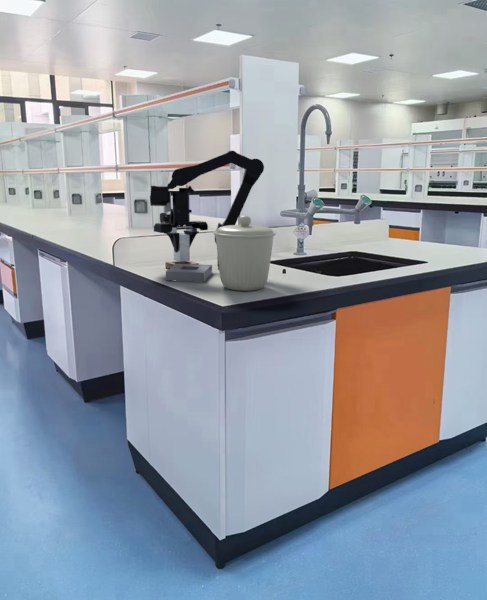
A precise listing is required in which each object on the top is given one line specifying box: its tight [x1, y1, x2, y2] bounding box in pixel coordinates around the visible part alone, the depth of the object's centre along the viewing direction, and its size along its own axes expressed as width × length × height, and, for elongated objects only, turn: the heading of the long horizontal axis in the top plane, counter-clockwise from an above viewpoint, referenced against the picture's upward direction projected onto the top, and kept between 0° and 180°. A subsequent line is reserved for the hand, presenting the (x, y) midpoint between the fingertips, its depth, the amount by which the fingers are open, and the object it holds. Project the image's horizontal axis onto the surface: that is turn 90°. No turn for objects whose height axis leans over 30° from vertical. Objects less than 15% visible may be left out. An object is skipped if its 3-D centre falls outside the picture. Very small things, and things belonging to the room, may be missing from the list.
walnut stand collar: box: [164, 260, 200, 269], centre depth 184 cm, size 8×8×2 cm
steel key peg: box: [173, 233, 191, 262], centre depth 183 cm, size 4×4×9 cm
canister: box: [213, 215, 277, 292], centre depth 153 cm, size 18×18×21 cm
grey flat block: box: [165, 264, 213, 283], centre depth 169 cm, size 12×14×3 cm
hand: (181, 251), depth 183 cm, fingers closed on steel key peg, 4 cm apart
